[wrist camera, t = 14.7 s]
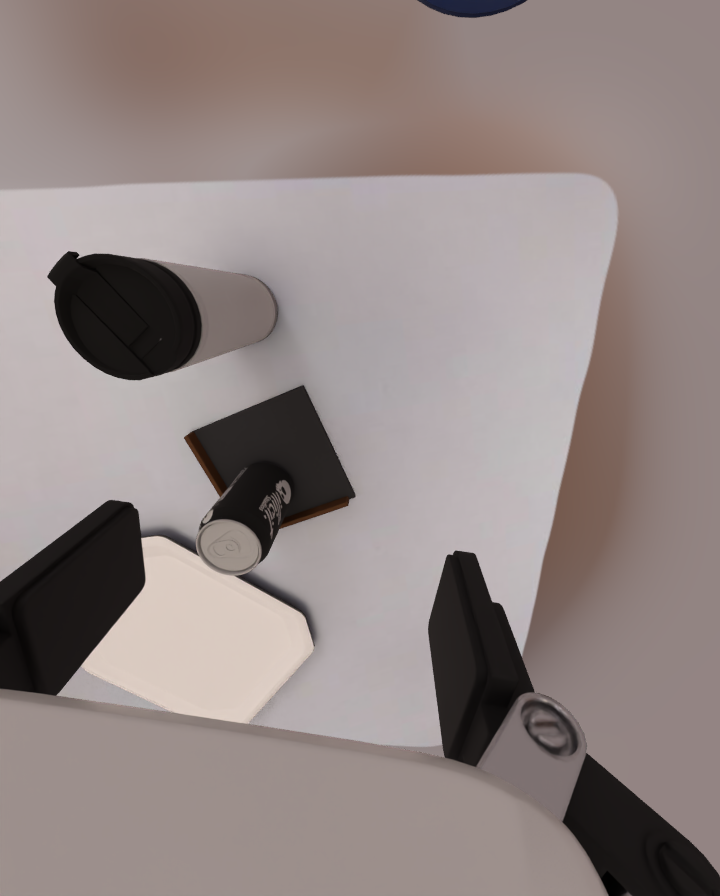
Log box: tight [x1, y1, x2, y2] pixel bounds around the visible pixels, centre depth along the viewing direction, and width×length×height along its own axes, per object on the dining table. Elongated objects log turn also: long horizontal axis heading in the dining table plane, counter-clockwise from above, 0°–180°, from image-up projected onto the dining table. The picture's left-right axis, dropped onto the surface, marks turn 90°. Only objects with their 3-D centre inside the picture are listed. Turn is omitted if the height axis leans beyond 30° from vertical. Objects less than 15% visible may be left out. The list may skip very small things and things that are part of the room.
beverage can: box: [196, 462, 294, 576], centre depth 38 cm, size 7×7×12 cm
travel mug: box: [47, 251, 278, 380], centre depth 28 cm, size 6×7×20 cm
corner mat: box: [184, 385, 355, 529], centre depth 42 cm, size 14×14×2 cm
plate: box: [81, 535, 315, 724], centre depth 53 cm, size 29×29×2 cm
